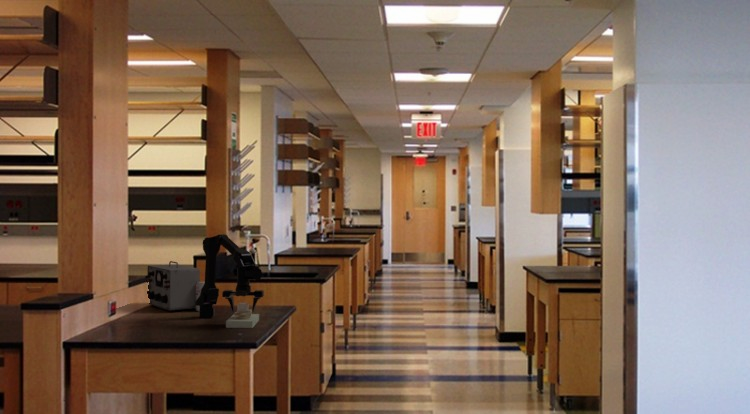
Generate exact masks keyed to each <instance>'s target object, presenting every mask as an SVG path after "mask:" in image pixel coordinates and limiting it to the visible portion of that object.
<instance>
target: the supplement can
mask: <svg viewBox="0 0 750 414" xmlns="http://www.w3.org/2000/svg"><path fill="white" fill-rule="evenodd" d="M204 284H205V280H204V281H200V282H197V284H196V300H197V299H198V297H199V296H200V293H201V289H202V287H203V286H204ZM207 303H208V302H207ZM195 311H196V312H199V313H200V306H199V305H197V303H196V310H195Z"/></svg>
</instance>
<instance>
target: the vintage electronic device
mask: <svg viewBox="0 0 750 414" xmlns="http://www.w3.org/2000/svg"><path fill="white" fill-rule="evenodd" d="M171 263H172V264H171ZM146 273H147V274H146V275H145V276H144V278H145V280H146V282H147V283H148V282H149V285H148V289H149V291H147V290H146V291H147V294H148V298H149V299H150V303H149V304H148V305H151V307H152V306H153V307H154V306H156V307H157V308H159V309H163V310H166V311H169V313H175V311H178V310H191V311H197V310H196V284H197V282H201V279H200V278H201V270H200V268H198V267H192V266H188V265H182V264H181V265H180V264H179V263H178V262H177V261H173V260H170V261H169V263H168V264H165V265H164V264H163V265H162V264H160V265H159V264H158V265H157V264H155V265H148V266H147V272H146ZM147 278H148V280H147ZM146 282H145V283H146ZM147 294H146V295H147ZM153 307H152V308H153Z"/></svg>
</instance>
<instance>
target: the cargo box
mask: <svg viewBox="0 0 750 414" xmlns="http://www.w3.org/2000/svg"><path fill="white" fill-rule="evenodd" d="M249 308H250V307H249V302H238V303H237V309H236V311H237V312H247V311H248V309H249Z"/></svg>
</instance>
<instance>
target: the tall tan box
mask: <svg viewBox="0 0 750 414" xmlns="http://www.w3.org/2000/svg"><path fill="white" fill-rule="evenodd" d="M252 314H253V312H252V308H251V309H248V311H247V312H237V310H236V311H235V312H233V315H234V319H249V318H250V316H252Z"/></svg>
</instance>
